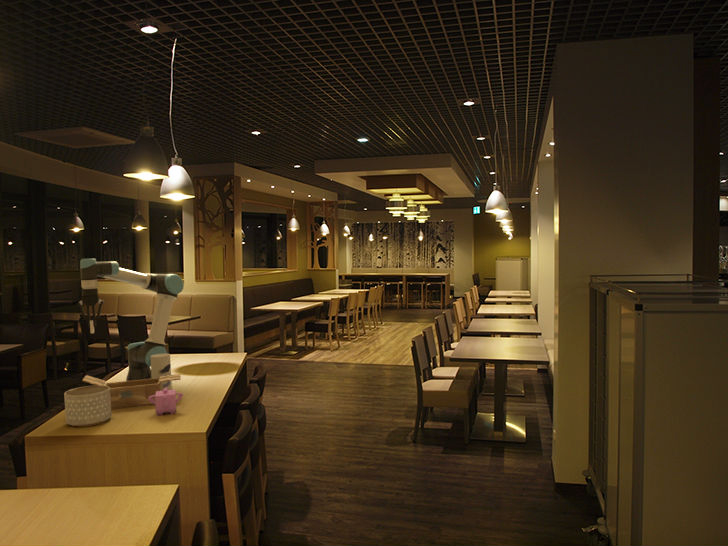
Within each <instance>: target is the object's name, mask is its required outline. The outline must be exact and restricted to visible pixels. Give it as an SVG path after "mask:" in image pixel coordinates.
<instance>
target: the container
mask: <svg viewBox="0 0 728 546" xmlns="http://www.w3.org/2000/svg"><path fill="white" fill-rule="evenodd" d="M150 357H151V366H150V368H151V376H152V379H154V378H160V376H167V375H172V368H171V365H172V364H171V354H170V353H167V354H166V353H163V354H155V355H151V356H150ZM165 388H167V389H168V390H173V385H172V381H165V382H161V391H163V390H164V389H165Z"/></svg>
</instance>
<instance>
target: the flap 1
mask: <svg viewBox="0 0 728 546" xmlns="http://www.w3.org/2000/svg"><path fill="white" fill-rule="evenodd" d="M81 381H82V382H83V383H88V384H91V385H92V386H95V385H103V386H105V385H106V383H107V381H106V380H103V379H100V378H98V377H95V376H91V375H88V374H86V375H85V376H84V377H83V378H82V380H81Z"/></svg>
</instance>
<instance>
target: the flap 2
mask: <svg viewBox="0 0 728 546" xmlns="http://www.w3.org/2000/svg"><path fill="white" fill-rule="evenodd" d="M179 380H180V381H181V373H177V374H171V375H167V376H160V381H159V382H165V381H171V382H172V381H179Z"/></svg>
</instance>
